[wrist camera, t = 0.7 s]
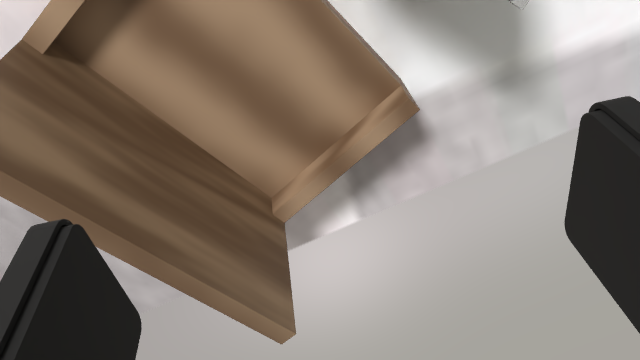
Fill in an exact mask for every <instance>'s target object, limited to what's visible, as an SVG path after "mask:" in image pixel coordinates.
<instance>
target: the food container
mask: <svg viewBox="0 0 640 360" xmlns="http://www.w3.org/2000/svg"><path fill="white" fill-rule="evenodd" d="M509 1H510V2H511V3H512V4H514V5H515V6H517V7H518V8H521V9H522V10H523V9H524V7H525V6H526V4H527V3H528V2H529V0H509Z"/></svg>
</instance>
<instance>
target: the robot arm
mask: <svg viewBox="0 0 640 360" xmlns="http://www.w3.org/2000/svg"><path fill="white" fill-rule="evenodd" d="M565 230H566V234H567V236H568V238H569V240H570V241H571V243H572V244H573V245H574V247H575V248H576V249H577V250H578V252H579V253H580V255H581V256H582V257H583V259H584V260H585V261H586V263H587V264H588V265H589V267H590V268H591V269H592V271H593V272H594V273H595V275H596V276H597V277H598V278H599V280H600V281H601V283H602V284H603V285H604V287H605V288H606V289H607V290H608V292H609V293H610V294H611V296H612V297H613V299H614V300H615V301H616V303H617V304H618V305H619V307H620V308H621V309H622V311H623V312H624V313H625V314H626V316H627V317H628V319H629V320H630V321H631V323H632V324H633V325H634V326H635V328H636V329H637V331H638V332H639V333H640V102H639V101H637V100H636V99H634V98H632V97H629V96H625V97H621V98H616V99H612V100H607V101H602V102H598V103H595V104H593V105H592V106H591V108H590V110H589V113H586V114H584V115H583V116H582V118H581V121H580V127H579V134H578V140H577V146H576V153H575V159H574V165H573V171H572V178H571V184H570V191H569V197H568V203H567V210H566V216H565ZM140 335H141V319H140V316H139V313H138V311H137V310H136V308H135V307H134V305H133V304H132V302H131V301H130V299H129V298H128V296H127V295H126V293H125V291H124V290H123V288H122V287H121V285H120V284H119V282H118V281H117V279H116V278H115V276H114V274H113V273H112V271H111V270H110V268H109V267H108V265H107V264H106V262H105V261H104V259H103V258H102V256H101V254H100V253H99V251H98V250H97V248H96V247H95V245H94V244H93V242H92V241H91V239H90V237H89V236H88V234H87V233H86V231H85V230H84V228H83V227H82V226H80V225H79V224H74V225H73V224H72V222H71V221H69V220H67V219H60V220H56V221H51V222H46V223H42V224H37V225H34V226H32V227H30V229H29V230H28V231H27V233H26V235H25V237H24V239H23V241H22V242H21V244H20V246H19V248H18V250H17V252H16V254H15V255H14V257H13V259H12V261H11V263H10V265H9V267H8V268H7V270H6V272H5V274H4V276H3V278H2V280H1V281H0V360H135V358H136V353H137V349H138V343H139V339H140Z"/></svg>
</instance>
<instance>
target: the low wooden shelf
mask: <svg viewBox="0 0 640 360" xmlns="http://www.w3.org/2000/svg"><path fill="white" fill-rule="evenodd" d="M419 110H420V109H419V108H418V106H417V104H416V103H415V101H414V100H413V98H412V96H411V95H410V93H409V92H408V90H407V88H406V87H405V85H404V84H403V82H402V80H401V79H400V78H399V77H398V75H397V74H396V73H395V72H394V71H393V70H392V69H391V68H390V67H389V66H388V65H387V64H386V63H385V62H384V61H383V59H382V58H381V57H380V56H379V55H378V54H377V53H376V52H375V51H374V50H373V49H372V48H371V47H370V46H369V44H368V43H367V42H366V41H365V40H364V39H363V38H362V37H361V36H360V35H359V34H358V33H357V32H356V31H355V29H354V28H353V27H352V26H351V25H350V24H349V23H348V22H347V21H346V20H345V19H344V18H343V17H342V16H341V15H340V13H339V12H338V11H337V10H336V9H335V8H334V7H333V6H332V5H331V4H330V3H329V2H328V1H327V0H51V1H50V2H49V4H48V5H47V6H46V8H45V9H44V10H43V12H42V13H41V14H40V16H39V17H38V18H37V20H36V21H35V22H34V24H33V25H32V26H31V28H30V29H29V30H28V32H27V33H26V34H25V36H24V37H23V39H22V40H21V41H20V42H19V43H18V44H17V45H15V46H14V47H13V48H12V49H11V50H10V51H9V52H8V53H7V54H6V55H5V56H4V57H3V58H2V59H1V60H0V196H1V197H3V198H5V199H7V200H9V201H10V202H12V203H14V204H16V205H18V206H20V207H22V208H24V209H26V210H28V211H29V212H31V213H33V214H35V215H37V216H39V217H41V218H43V219H45V220H47V221H48V222H51V221H56V220H60V219H67V220H69V221H71V222H72V224H73V225H74V224H79V225H80V226H82V227H83V228H84V230H85V231H86V233H87V234H88V236H89V237H90V239H91V241H92V242H93V244H94V245H95V246H96V247H98V248H100V249H102V250H103V251H105V252H107V253H109V254H111V255H113V256H115V257H117V258H119V259H121V260H122V261H124V262H126V263H128V264H130V265H132V266H134V267H136V268H138V269H139V270H141V271H143V272H145V273H147V274H149V275H151V276H153V277H155V278H157V279H158V280H160V281H162V282H164V283H166V284H168V285H170V286H172V287H174V288H176V289H177V290H179V291H181V292H183V293H185V294H187V295H189V296H191V297H193V298H195V299H197V300H198V301H200V302H202V303H204V304H206V305H208V306H210V307H212V308H214V309H215V310H217V311H219V312H221V313H223V314H225V315H227V316H229V317H231V318H232V319H234V320H236V321H238V322H240V323H242V324H244V325H246V326H248V327H250V328H252V329H253V330H255V331H257V332H259V333H261V334H263V335H265V336H267V337H269V338H270V339H272V340H274V341H276V342H278V343H280V344H283V343H284V342H286V341H287V340H288V339H290V338H291V337H293V336H294V335H295V334H296V329H295V319H294V310H293V300H292V290H291V281H290V271H289V262H288V252H287V242H286V233H285V222H286V221H287V220H288V219H290V218H291V217H292V216H293V215H294V214H296V213H297V212H298V211H299V210H300V209H302V208H303V207H304V206H305V205H306V204H308V203H309V202H310V201H311V200H312V199H314V198H315V197H316V196H317V195H318V194H320V193H321V192H322V191H323V190H324V189H326V188H327V187H328V186H329V185H330V184H332V183H333V182H334V181H335V180H336V179H338V178H339V177H340V176H341V175H342V174H344V173H345V172H346V171H347V170H348V169H349V168H351V167H352V166H353V165H354V164H355V163H357V162H358V161H359V160H360V159H361V158H363V157H364V156H365V155H366V154H367V153H369V152H370V151H371V150H372V149H373V148H375V147H376V146H377V145H378V144H379V143H381V142H382V141H383V140H384V139H385V138H387V137H388V136H389V135H390V134H391V133H393V132H394V131H395V130H396V129H397V128H399V127H400V126H401V125H402V124H403V123H404V122H406V121H407V120H408V119H409V118H410V117H412V116H413V115H414V114H415V113H416V112H418V111H419Z"/></svg>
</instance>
